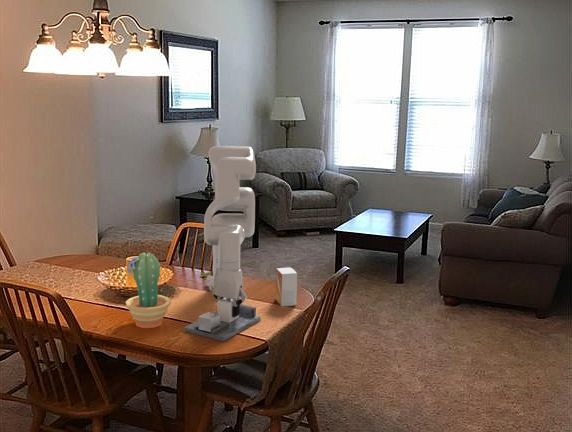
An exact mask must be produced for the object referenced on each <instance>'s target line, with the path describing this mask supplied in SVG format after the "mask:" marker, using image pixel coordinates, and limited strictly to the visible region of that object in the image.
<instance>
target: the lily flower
mask: <svg viewBox="0 0 572 432" xmlns="http://www.w3.org/2000/svg"><path fill="white" fill-rule="evenodd" d="M207 269H208V271H207V272H204V273H200V274H201V275H200V276H199V277H200V278H202V277H204V278H203V279H204V280H206V279H207V276H212V277H213V269H212V268H211V267H207Z"/></svg>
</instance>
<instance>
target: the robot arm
mask: <svg viewBox="0 0 572 432" xmlns="http://www.w3.org/2000/svg"><path fill="white" fill-rule="evenodd" d="M208 160H209V163H210V165H211V168H212V172H213V175H214V199H213V201H212V202H211V203H210V204H209V206H208V207H207V208H206V211H205V214H204V217H203V220H204V221H203V237H204V238H203V239H204V242H205V243H206V244H207V245H209V246H212V249H213V251H212V253H213V254H212V262H213V263H212V272H213V277H212V276H207V279H205V282H209V283H210V284H209V285H208V290H209V291H210V293H211V294H212V295H213V297H214V299H215V300H216V303H217V304H218V301H219V300H221V299H223V298H229V299H232V300H233V303H234V306H233V307H232V317H236V316H238V315H239V306H240V305H241V304H243V303H244V302H245V301H247V300H248V298H249V297H248V296H247V294H246V292H245V291H244V277H243V272H242V269H241V245H242V243H243V241H244V240H245V238H250V237H252V236H253V235H254V233H255V228H256V227H255V224H256V223H255V222H256V196H255V192H254V190H253V189H252V188H251V187H248V186H246V187H245V186H244V187H242V186H240V184H241V183H240V181H242V180H243V181H246V180H247V181H251V180H254V178H255V177H256V173H257V165H256V158H255V152H254V149H253V148H252V147H251V146H247V145H246V146H245V145H242V146H241V145H239V146H238V145H216V146H215V145H214V146H212V147H210V148H209V150H208ZM218 211H225V212H226V211H227V212H243V213H217V214H215V213H216V212H218Z"/></svg>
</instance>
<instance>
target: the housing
mask: <svg viewBox="0 0 572 432" xmlns="http://www.w3.org/2000/svg"><path fill="white" fill-rule="evenodd" d="M233 306H234V303H233V300H232V299H229V298H223V299H221V300H219V301H218V303H217V311H218V314H219V315H220V316H221V320H220V321H224V322H228V323H230V322H232V321H234V320H236V319H237V318H239V315H238V316H236V317H232V307H233Z"/></svg>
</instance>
